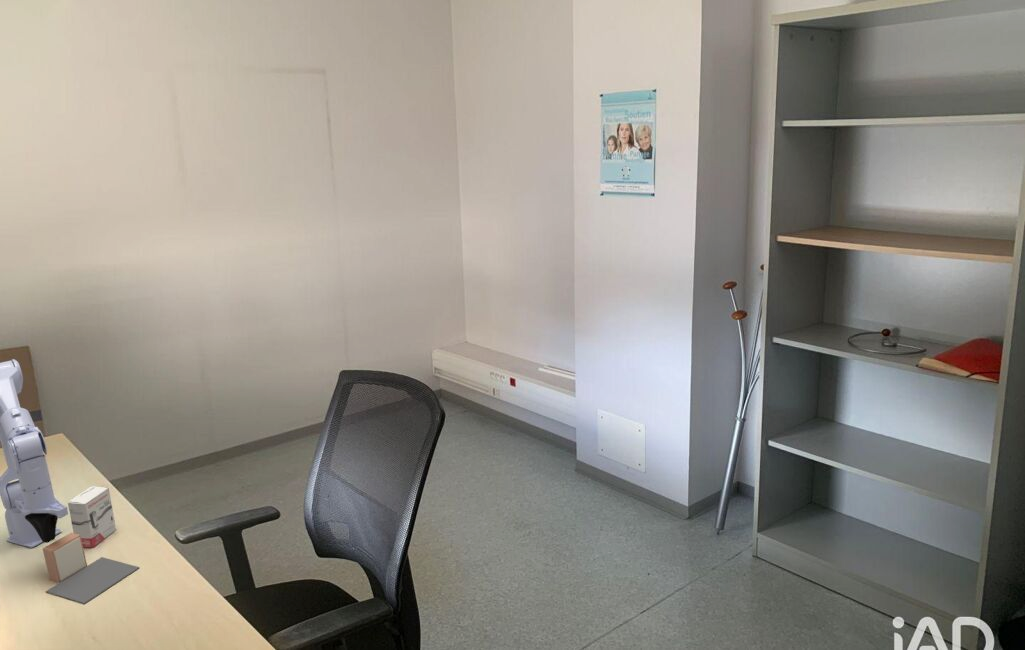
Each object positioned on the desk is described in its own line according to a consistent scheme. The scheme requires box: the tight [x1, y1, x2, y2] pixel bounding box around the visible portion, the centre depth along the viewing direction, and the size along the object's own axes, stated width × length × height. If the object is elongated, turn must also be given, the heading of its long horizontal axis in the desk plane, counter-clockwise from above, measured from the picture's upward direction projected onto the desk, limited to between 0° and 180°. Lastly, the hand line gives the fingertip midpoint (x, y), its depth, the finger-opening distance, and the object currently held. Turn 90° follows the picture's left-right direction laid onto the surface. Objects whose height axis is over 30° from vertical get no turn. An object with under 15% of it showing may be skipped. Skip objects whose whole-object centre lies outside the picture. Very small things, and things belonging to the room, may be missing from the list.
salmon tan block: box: [42, 532, 88, 584], centre depth 175 cm, size 3×7×8 cm, turn 156°
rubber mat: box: [45, 556, 140, 605], centre depth 173 cm, size 12×14×1 cm
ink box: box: [67, 485, 117, 548], centre depth 189 cm, size 9×5×12 cm, turn 168°
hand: (49, 540), depth 176 cm, fingers closed
